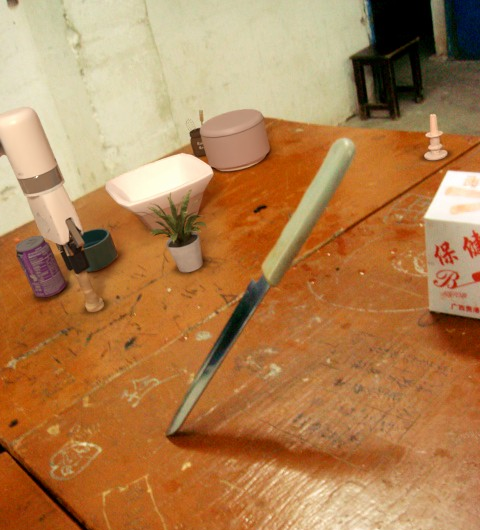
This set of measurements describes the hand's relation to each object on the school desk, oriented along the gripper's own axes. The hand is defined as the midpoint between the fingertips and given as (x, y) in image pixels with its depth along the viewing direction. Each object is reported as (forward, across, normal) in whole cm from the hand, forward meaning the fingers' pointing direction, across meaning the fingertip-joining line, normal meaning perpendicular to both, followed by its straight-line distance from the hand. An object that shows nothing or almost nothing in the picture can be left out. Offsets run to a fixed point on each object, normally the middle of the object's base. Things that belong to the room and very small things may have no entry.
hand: (79, 268), depth 123 cm
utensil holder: (+9, -48, +68) cm, 84 cm away
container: (+9, -30, +67) cm, 74 cm away
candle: (+9, +23, +83) cm, 87 cm away
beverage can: (+9, -17, -2) cm, 19 cm away
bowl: (+9, -20, +34) cm, 41 cm away
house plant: (+9, +6, +19) cm, 22 cm away
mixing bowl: (+9, -18, +11) cm, 23 cm away
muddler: (+9, 0, 0) cm, 9 cm away
